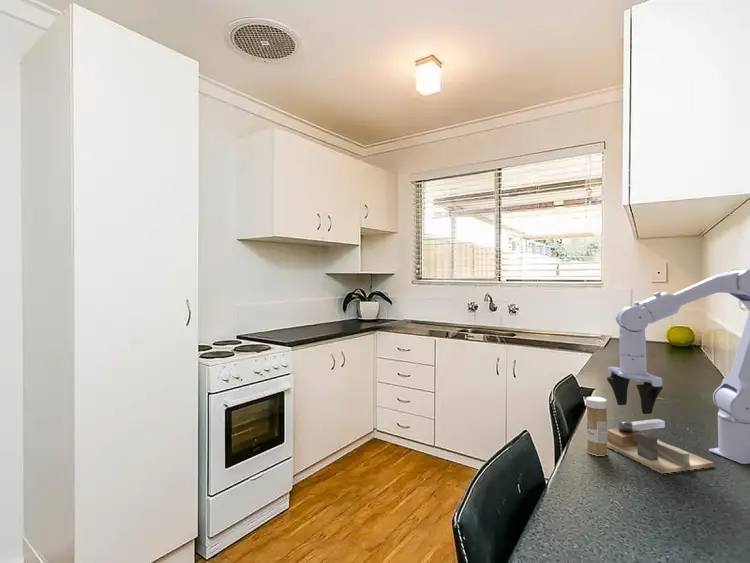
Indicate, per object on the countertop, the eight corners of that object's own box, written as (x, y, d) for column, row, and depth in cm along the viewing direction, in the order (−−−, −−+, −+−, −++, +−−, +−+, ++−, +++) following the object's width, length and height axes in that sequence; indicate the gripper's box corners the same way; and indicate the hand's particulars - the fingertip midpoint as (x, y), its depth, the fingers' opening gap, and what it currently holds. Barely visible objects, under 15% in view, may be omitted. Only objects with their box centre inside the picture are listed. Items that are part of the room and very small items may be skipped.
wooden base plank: (645, 438, 112) (645, 415, 112) (713, 467, 95) (713, 440, 95) (600, 444, 109) (599, 420, 109) (661, 474, 91) (661, 446, 91)
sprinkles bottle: (583, 450, 105) (582, 396, 105) (600, 449, 106) (599, 395, 106) (594, 458, 101) (593, 401, 101) (612, 457, 101) (611, 400, 101)
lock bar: (625, 433, 105) (625, 425, 105) (615, 429, 108) (615, 421, 108) (666, 428, 108) (666, 420, 108) (656, 424, 111) (656, 416, 111)
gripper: (597, 351, 113) (598, 402, 113) (644, 360, 99) (645, 419, 99) (619, 349, 114) (621, 400, 114) (668, 358, 100) (670, 416, 100)
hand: (634, 408), depth 107 cm, fingers open, 7 cm apart
